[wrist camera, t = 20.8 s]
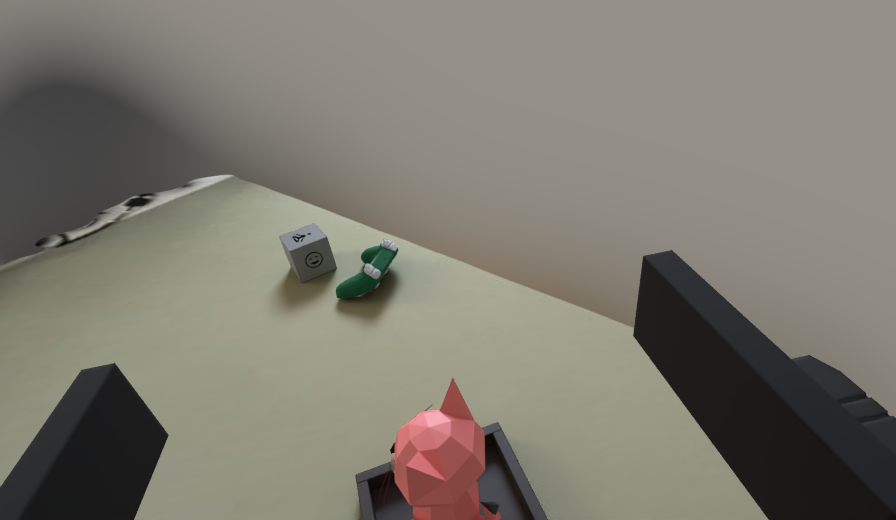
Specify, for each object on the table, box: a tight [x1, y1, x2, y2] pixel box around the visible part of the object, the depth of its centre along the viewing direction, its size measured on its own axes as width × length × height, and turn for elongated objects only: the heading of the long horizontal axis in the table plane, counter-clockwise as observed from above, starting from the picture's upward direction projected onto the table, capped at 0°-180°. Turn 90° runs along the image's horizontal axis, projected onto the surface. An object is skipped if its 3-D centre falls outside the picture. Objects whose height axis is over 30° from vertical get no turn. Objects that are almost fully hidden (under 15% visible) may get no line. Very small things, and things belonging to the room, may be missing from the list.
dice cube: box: [279, 223, 337, 283], centre depth 62 cm, size 5×5×5 cm
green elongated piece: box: [336, 239, 398, 298], centre depth 58 cm, size 9×4×6 cm
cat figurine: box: [379, 378, 501, 520], centre depth 28 cm, size 7×7×12 cm
